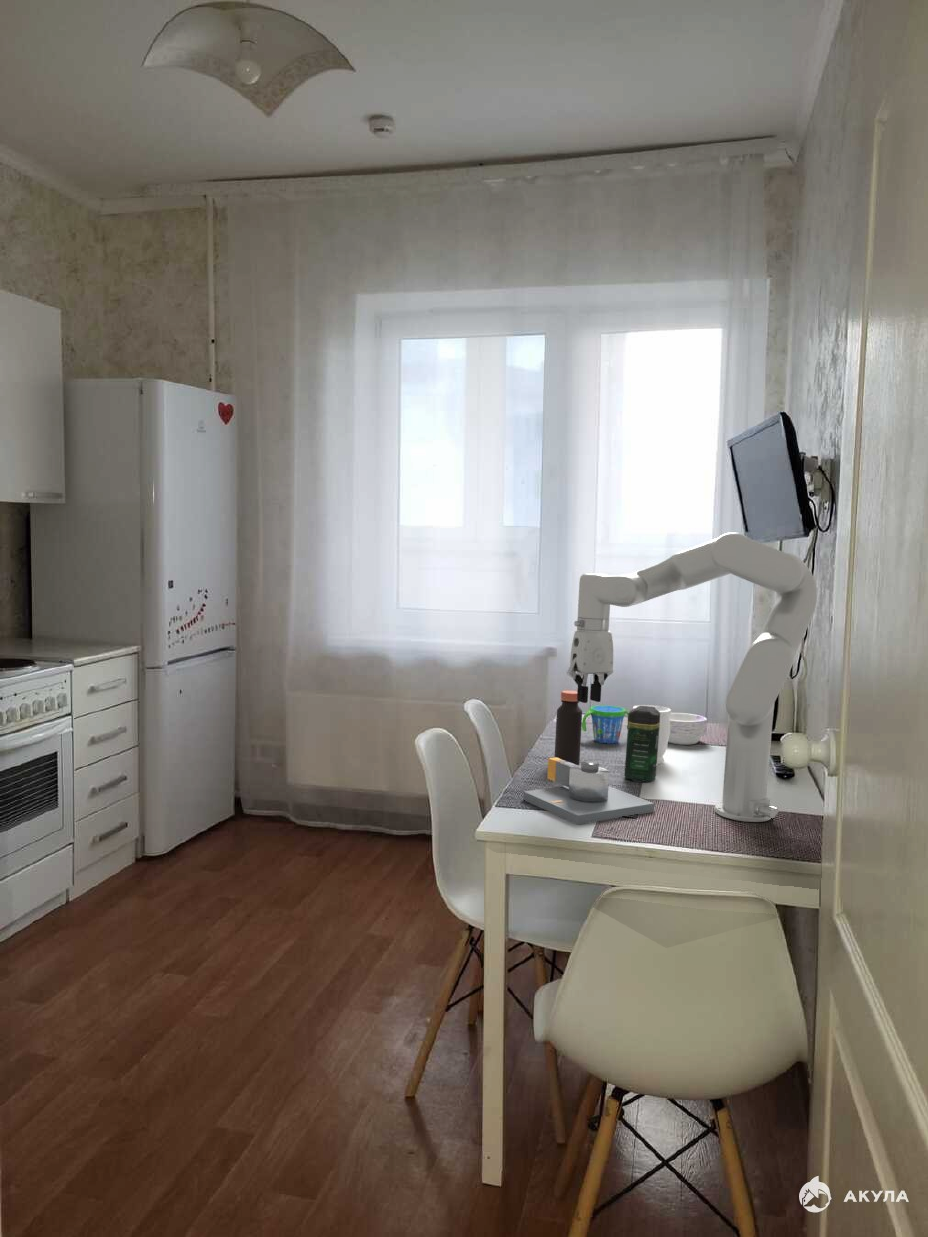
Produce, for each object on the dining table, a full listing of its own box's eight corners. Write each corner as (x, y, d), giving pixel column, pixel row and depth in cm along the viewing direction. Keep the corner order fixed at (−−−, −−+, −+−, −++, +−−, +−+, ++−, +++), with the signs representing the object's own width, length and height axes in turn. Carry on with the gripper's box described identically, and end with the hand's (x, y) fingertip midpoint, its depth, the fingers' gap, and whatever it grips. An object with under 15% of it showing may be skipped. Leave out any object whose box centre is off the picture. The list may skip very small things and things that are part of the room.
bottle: (553, 761, 255) (557, 689, 253) (578, 763, 255) (582, 690, 253) (554, 768, 248) (558, 693, 246) (580, 769, 248) (584, 694, 246)
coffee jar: (653, 784, 236) (657, 711, 234) (621, 780, 238) (626, 708, 236) (658, 775, 245) (663, 705, 243) (628, 771, 247) (632, 702, 246)
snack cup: (586, 745, 277) (588, 711, 276) (576, 737, 287) (578, 704, 286) (636, 745, 279) (638, 712, 278) (625, 737, 290) (627, 705, 289)
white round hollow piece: (651, 735, 295) (653, 710, 294) (700, 737, 295) (701, 712, 294) (659, 746, 280) (661, 720, 279) (710, 748, 279) (712, 722, 279)
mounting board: (653, 812, 212) (654, 803, 211) (577, 824, 200) (578, 815, 200) (596, 789, 228) (597, 781, 228) (523, 800, 217) (523, 791, 217)
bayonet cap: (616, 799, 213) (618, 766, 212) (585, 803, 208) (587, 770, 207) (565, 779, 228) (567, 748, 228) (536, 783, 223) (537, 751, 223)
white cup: (652, 767, 253) (655, 713, 252) (622, 759, 261) (625, 706, 259) (675, 762, 260) (679, 709, 259) (645, 754, 268) (648, 703, 266)
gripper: (575, 627, 215) (571, 706, 217) (629, 626, 224) (625, 702, 226) (555, 624, 221) (551, 700, 223) (609, 623, 230) (604, 696, 232)
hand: (588, 700), depth 224 cm, fingers open, 3 cm apart
